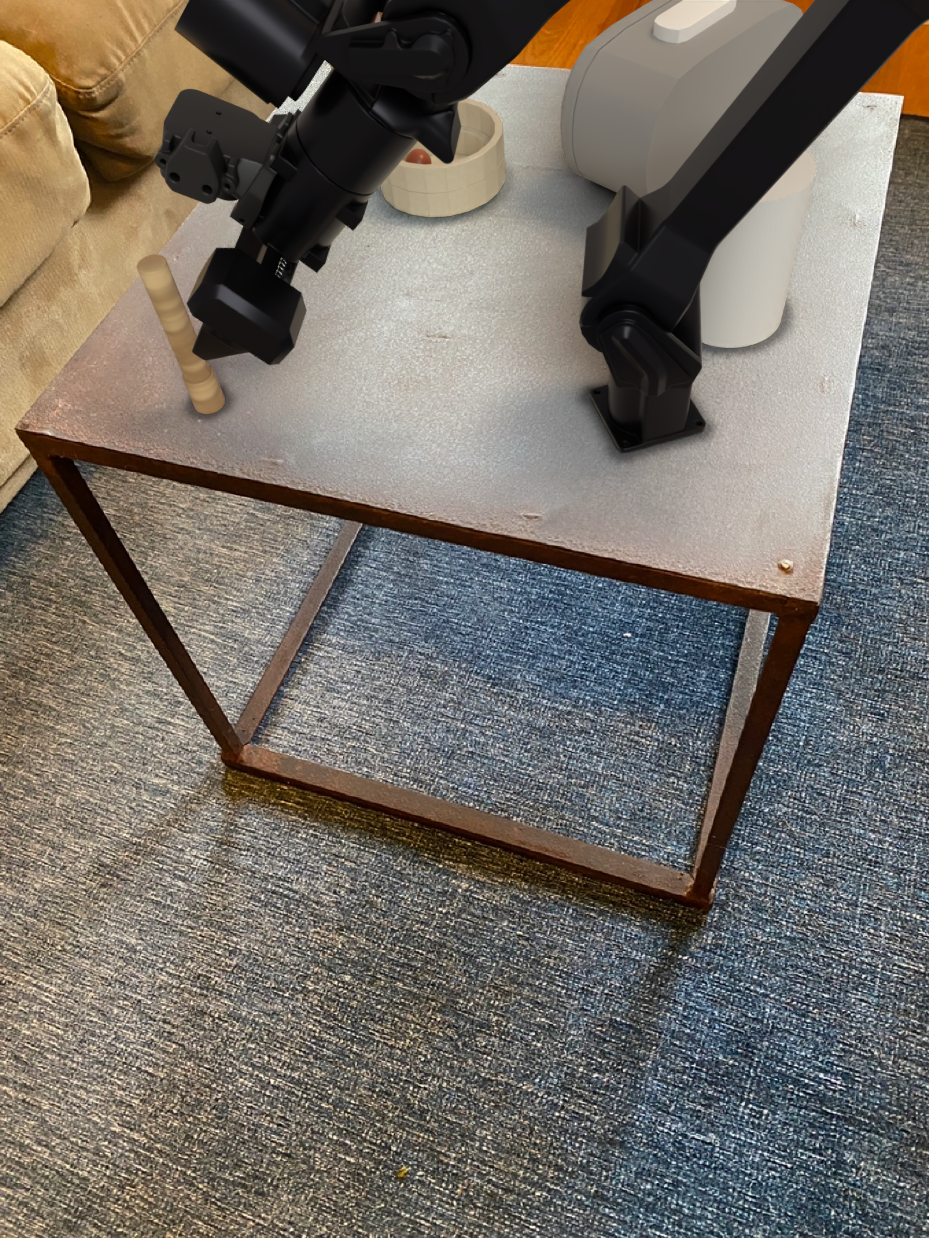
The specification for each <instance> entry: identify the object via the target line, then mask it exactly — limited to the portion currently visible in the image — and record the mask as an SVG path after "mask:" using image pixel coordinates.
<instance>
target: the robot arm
mask: <svg viewBox="0 0 929 1238" xmlns="http://www.w3.org/2000/svg"><path fill="white" fill-rule="evenodd" d="M570 2H572V0H188V1H187V3H186V5H185V7H184V8H183V11H182V13H181V15H180V17H179V18H178V20H177V22H176V24H175V26H174V31H175V32H176V33H177V34H179V36H181V37H182V38H184V39H185V40H186V41H187V42H189V43H190V44H191V45H192V46H194V47H195V48H196V49H197V50H198V51H200V52H201V53H202V54H204V55H205V56H206V57H207V58H208V59H209V60H211V61H213V63H215V64H216V65H217V66H218V67H220V68H221V69H223V71H225V72H226V73H227V74H229V75H230V76H231V77H232V78H234V79H235V80H236V81H238V83H240V84H241V85H242V86H243V87H244V88H246V89H247V90H249V91H250V92H251V93H252V94H254V95H255V96H256V97H258V99H260V100H261V101H262V102H264V103H265V104H266V105H269V104H271V105H272V106H273V107H275V108H276V109H277V110H279V109H280V108H281V107H282V105H284V103H285V102H286V101H287V99H288V98H289V99H291V100H292V101H293V102H295V103H296V102H297V101H299V99H300V98H301V97H302V96H303V94H305V91H306V90H307V89H308V88H309V85H310V84H311V83H312V81H313V79H314V78H315V76H316V75H317V73H318V71H319V70H320V68H322V65H323V64H324V63H325V62H326V63H327V64H328V65H329V66H330V65H331V66H332V67H333V68H332V70H331V69H330V71H329V72H328V74H327V75H326V77H325V78H324V79H323V81H322V82H321V84H320V85H319V87H318V88H317V89H316V91H315V92H314V94H313V95H312V96H311V98H310V99H309V101H308V102H307V103H306V105H305V107H304V108H303V110H300V109H299V108H297V109H296V110H295V112H294V113H292V112H291V111H288V112H287V113H275V114H273V115H272V116H271V118H270V120H269V121H267V120H265V119H262V118H260V117H259V116H258V115H257V114H256V113H254V112H253V111H251V110H249V109H246V108H244V107H241V106H239V105H236V104H234V103H231V102H229V101H227V100H224V99H222V98H219V97H217V96H214V95H211V94H209V93H206V92H204V91H201V90H199V89H195V88H185V89H183V90H181V91H180V92H179V93H178V94H177V96H176V98H175V99H174V102H173V104H172V106H170V109H169V111H168V112H167V114H166V116H165V118H164V120H163V125H162V126H163V128H162V140H161V145H160V147H159V149H158V151H157V153H156V155H155V157H154V163H155V165H156V166H157V167H158V168H159V173H160V176H162V178H163V179H164V181H165V184H166V186H167V187H168V188H169V189H170V191H172V192H174V193H176V194H179V195H181V196H184V197H186V198H189V199H191V200H195V201H197V202H200V203H203V204H205V205H210V204H214V203H215V202H216V201H217V199H220V200H222V201H227V202H235V201H236V203H235V204H234V206H233V207H232V210H231V212H230V214H229V217H230V218H231V219H232V220H234V221H235V222H236V223H238V224H240V225H241V226H242V227H241V230H240V232H239V235H238V237H237V240H236V243H235V245H234V246H233V247H216V248H215V249H214V250H213V251H212V253H211V254H210V256H209V257H208V258H207V260H206V262H205V263H204V266H203V267H202V269H201V270H200V271H199V274H198V275H197V278H196V280H195V283H194V285H193V287H192V290H191V292H190V294H189V297H188V299H187V301H186V306H187V308H188V310H189V312H190V314H191V316H192V317H193V318H195V319H196V320H198V321H199V322H201V323H202V324H201V326H200V328H199V331H198V333H197V339H196V341H195V344H194V346H193V349H192V353H193V354H195V355H196V356H198V357H199V358H201V359H203V360H205V361H207V362H208V361H212V360H218V359H222V358H226V357H233V356H237V355H244V354H248V353H249V354H251V355H252V356H254V357H255V358H256V359H258V360H260V361H261V362H263V363H264V364H266V365H268V366H275V365H280V364H281V363H282V362H283V361H284V360H285V358H286V357H288V355H289V354H291V352H292V351H293V350H294V349H295V348H296V344H297V341H298V339H299V336H300V333H301V330H302V326H303V323H304V320H305V317H306V314H307V311H308V310H307V307H306V303H305V300H304V299H305V298H304V296H303V292H302V291H300V290H298V289H297V288H296V287H294V286H293V285H292V282H293V279H294V276H295V274H296V271H297V268H298V265H299V262H301V263H302V264H303V265H305V266H306V267H307V268H309V269H310V270H311V271H313V272H314V273H315V274H318V272H320V270H321V269H322V268H323V267H324V266H325V264H326V263H327V260H328V256H329V253H330V249H331V247H332V245H333V243H334V241H335V240H336V239H337V237H338V236H340V235H341V233H342V231H343V230H344V229H345V228H346V227H347V228H348V229H350V231H355V230H356V229H357V227H358V226H359V225H360V224H361V223H362V221H363V220H364V216H365V214H366V210H367V207H368V203H369V200H370V199H371V197H372V196H373V195H374V194H375V193H376V192H377V190H378V189H379V188H381V187H380V186H381V184H382V183H383V182H384V181H385V180H386V178H387V177H388V176H389V175H390V174H391V173H392V171H393V170H394V169H395V168H396V167H397V165H398V164H399V163H400V162H401V161H402V160H403V158H404V157H405V156H406V155H407V154H408V152H409V151H410V150H411V149H412V148H413V147H414V145H415V144H416V143H417V142H419V143H421V144H422V145H423V146H424V147H425V148H426V149H428V150H429V151H430V152H431V153H432V154H433V155H435V156H436V157H437V158H438V159H439V160H440V161H442V162H443V163H445V164H450V163H452V162H453V160H454V157H455V152H456V148H457V143H458V139H459V135H460V130H461V123H460V119H459V113H458V102H460V101H462V100H465V99H467V98H468V99H469V98H470V97H471V96H472V95H474V94H475V93H477V92H478V91H479V90H480V89H481V88H482V87H484V86H485V85H486V84H487V83H488V82H489V81H491V80H492V79H493V78H494V77H495V76H496V75H497V74H499V73H500V72H501V71H502V70H503V69H504V68H506V67H507V66H508V65H509V64H510V63H512V62H513V61H514V60H515V59H516V58H517V57H518V56H519V55H520V54H521V53H522V52H523V50H524V49H525V48H526V47H527V46H528V45H529V43H530V42H531V41H533V39H534V38H535V37H536V35H538V33H539V32H541V29H542V28H543V27H545V26H546V24H547V23H548V21H549V20H551V18H552V17H553V16H554V15H556V14H557V13H558V12H559V11H560V10H561V9H562V8H564V7H565V6H566V5H567V4H568V3H570ZM378 12H379V13H382V14H381V15H380V21H381V22H376V23H375V20H376V18H377V15H378ZM928 21H929V0H813V1H812V3H811V4H810V5H809V7H808V8H807V9H806V10H805V12H804V13H803V15H802V17H801V18H800V19H799V20H798V22H797V23H796V24H795V25H794V27H793V28H792V29H791V30H790V32H789V33H788V34H787V35H786V36H785V38H784V39H783V40H782V41H781V43H780V44H779V45H778V46H777V48H776V49H775V50H774V51H773V53H772V54H771V55H770V56H769V58H768V59H767V60H766V61H765V63H764V64H763V65H762V66H761V68H760V69H759V70H758V71H757V73H756V74H755V75H754V76H753V78H752V79H751V80H750V81H749V83H748V84H747V85H746V86H745V87H744V89H743V90H742V91H741V92H740V94H739V95H738V96H737V97H736V99H735V100H734V101H733V102H732V104H731V105H730V106H729V107H728V109H727V110H726V111H725V112H724V114H723V115H722V116H721V117H720V119H719V120H718V121H717V122H716V124H715V125H714V126H713V127H712V129H711V130H710V131H709V132H708V134H707V135H706V136H705V137H704V138H703V140H702V141H701V142H700V143H699V145H698V146H697V147H696V148H695V150H694V151H693V152H692V153H691V155H690V156H689V157H688V158H687V160H686V161H685V162H684V163H683V165H682V166H681V167H680V168H679V170H678V171H677V172H676V173H675V175H674V176H673V177H672V178H671V179H670V180H669V181H668V182H667V183H666V184H665V185H664V186H663V187H661V188H659V189H657V190H655V191H653V192H651V193H649V194H647V195H644V196H642V197H640V198H639V197H638V196H637V195H636V194H635V193H634V192H633V191H632V190H631V189H629V188H628V187H627V186H626V185H623V186H622V187H621V188H620V189H619V191H618V192H616V194H615V195H614V198H613V200H612V201H611V203H610V205H609V207H608V208H607V210H606V212H605V213H604V214H603V215H602V216H601V217H600V218H599V219H598V220H597V221H596V222H594V223H592V224H591V225H589V226H588V227H586V231H585V243H584V244H585V245H584V254H583V264H582V265H583V267H582V279H581V280H582V281H581V289H580V290H581V291H580V306H579V316H578V324H579V330H580V332H581V335H582V337H583V338H584V340H585V341H586V342H587V344H588V346H591V348H593V349H595V350H596V351H597V352H599V353H601V354H602V355H603V356H602V357H603V358H604V360H605V361H604V362H605V364H606V365H607V368H608V381H607V382H608V383H607V384H605V385H602V386H597V387H595V388H592V389H591V390H590V394H589V395H590V396H589V397H590V400H591V402H592V404H593V405H594V407H595V410H596V411H597V413H598V415H599V417H600V419H601V421H602V423H603V425H604V426H605V428H606V430H607V431H608V434H609V435H610V438H611V439H612V441H613V444H614V445H615V447H616V448H617V450H618V452H620V453H622V454H629V453H632V452H636V451H639V450H643V449H646V448H650V447H653V446H657V445H660V444H664V443H668V442H671V441H672V442H673V441H675V440H678V439H683V438H686V437H689V436H693V435H697V434H700V433H703V432H705V430H706V426H707V424H706V423H707V422H706V420H705V419H704V417H703V415H702V413H700V411H699V409H698V408H697V406H696V405H695V403H694V401H693V400H692V398H691V396H692V391H693V390H692V389H693V384H694V382H695V380H696V379H697V377H698V376H699V374H700V373H701V371H702V370H703V345H702V344H703V343H702V338H701V294H700V282H701V280H702V278H703V275H704V273H705V271H706V269H707V266H708V264H709V262H710V260H711V257H712V255H713V253H714V252H715V250H716V249H717V247H718V246H719V244H720V243H721V242H722V241H723V240H724V239H725V238H726V237H727V236H728V235H729V233H730V232H731V231H732V230H733V229H734V228H735V227H736V226H737V225H738V224H739V223H740V221H741V220H742V219H743V218H744V217H745V216H746V215H747V214H748V213H749V212H750V211H751V209H752V208H753V207H754V206H755V205H756V204H757V203H758V202H759V201H760V200H761V199H762V197H763V196H764V195H765V194H766V193H767V192H768V191H769V190H770V189H771V188H772V187H773V185H774V184H775V183H776V182H777V181H778V180H779V179H780V178H781V177H782V176H783V175H784V173H785V172H786V171H787V170H788V169H789V168H790V167H791V166H792V165H793V164H794V163H795V161H796V160H797V159H798V158H799V157H800V156H801V155H802V154H803V153H804V152H805V151H806V149H807V150H808V149H809V147H811V146H812V144H813V143H814V142H815V141H816V140H817V139H818V138H819V137H820V135H821V134H822V133H823V132H824V131H825V130H826V129H827V128H828V127H829V126H830V125H831V124H832V123H833V121H834V120H835V119H836V118H837V117H838V116H839V115H840V114H841V112H842V111H843V110H844V109H845V108H846V107H847V106H848V105H849V104H850V103H851V102H852V101H853V100H854V99H855V98H856V96H857V95H858V94H859V93H860V92H861V91H862V90H863V89H864V87H865V86H867V84H868V83H869V82H870V81H871V80H872V79H873V78H874V76H875V75H876V74H877V73H878V72H879V71H880V70H881V69H882V67H884V66H885V64H886V63H887V62H889V60H891V58H893V56H894V55H895V53H897V52H898V50H899V49H900V48H901V47H902V46H903V45H904V44H905V43H906V41H908V40H909V38H910V37H911V36H912V35H913V34H914V33H916V31H917V30H919V28H921V27H922V26H923V25H924V24H926V23H927V22H928ZM331 66H330V67H331Z"/></svg>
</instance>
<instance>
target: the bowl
mask: <svg viewBox="0 0 929 1238" xmlns="http://www.w3.org/2000/svg"><path fill="white" fill-rule="evenodd" d="M458 113H459V119H460V123H461V130H460V135H459V139H458V143H457V148H456V152H455V157H454V160H453V162H452V163H450V164H445V163H443V162H442V161H440V160H439V159H438V158H437V157H436V156H435V155H433V154H432V153H431V152H430V151H429V150H428V149H426V148H425V147H424V146H423V145H422V144H421V143H419V142H417V143H416V144H415V145H414V147H413V148H412V149H411V150H410V151H409V152H411V151H412V150H414V149H422V150H424V151H426V152H427V153H428V154H429V156H430V158H431V162H432V164H426V165H424V164H416V163H408V162H405V161H406V157H407V155H408V154H409V152H408V154H407V155H406V156H405V157H404V158H403V160H402V161H401V162H400V163H399V164H398V165H397V167H396V168H395V169H394V170H393V171H392V173H391V174H390V175H389V176H388V177H387V178H386V180H385V181H384V182H383V183H382V184H381V186H380V187H379V188H380V191H381V193H382V195H383V198H384V200H385V201H386V202H387V203H388V204H390V205H391V206H392V207H393V208H394V209H395V210H398V211H401V212H404V213H406V214H409V215H412V216H419V217H425V218H441V217H450V216H455V215H456V216H457V215H460V214H463V213H468V212H471V211H473V210H475V209H477V208H479V207H481V206H483V205H485V204H487V203H489V202H490V201H491V200H492V199H494V197H495V196H496V195H498V194H499V192H500V191H501V189H502V187H503V185H504V183H505V181H506V158H505V139H504V122H503V120H502V118H501V116H500V115H499V114H498V111H496V110H495V109H493V108H492V107H491V106H489V105H487V104H486V103H484V102H481V101H478V100H474V99H471V98H469V97H468V98H467V99H465V100H462V101H460V102H458Z"/></svg>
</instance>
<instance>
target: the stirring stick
mask: <svg viewBox="0 0 929 1238" xmlns="http://www.w3.org/2000/svg"><path fill="white" fill-rule="evenodd" d="M167 260H168V259H167V258H166V257H165V256H164V255H161V254H155V253H154V254H149V255H147V256H144V257H143V258H141V259H139V261H138V262H137V263H136V270H137V272H138V275H139V277H140V279H141V281H142V284H143V286H144V288H145V291H146V293H147V295H148V297H149V299H150V302H151V304H152V307H153V309H154V311H155V313H156V316H157V318H158V321H159V323H160V325H161V327H162V329H163V331H164V334H165V336H166V338H167V341H168V344H169V345H170V347H171V349H172V353H173V354H174V357H175V359H176V361H177V363H178V366H179V368H180V370H181V373H182V375H181V379H182V382H183V384H184V386H185V388H186V391H187V393H188V396H189V398H190V401H191V402H192V405H193V407H194V409H195V411H197V413H200V414H203V415H211V414H214V413H215V414H216V413H217V412H219V411H220V410H221V409H222V408H223V407H225V404H226V397H225V394H224V391H223V390H222V388H221V387H222V386H221V385H220V382H219V379H218V377H217V375H216V372H215V369H214V367H212V365H210V364H209V362H208V361H205V360H203V359H201V358H199V357H198V356H196V355H195V354H193V353H192V349H193V346H194V344H195V341H196V339H197V336H198V334H197V333H196V330H195V328H194V327H195V326H194V325H193V323H192V320H191V317H190V315H189V312H188V310H187V307H186V305H185V303H184V300H183V298H182V295H181V292H180V290H179V288H178V286H177V282H176V281H175V278H174V275H173V272H172V270H171V267H170V265H169V263H168V261H167Z"/></svg>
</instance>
